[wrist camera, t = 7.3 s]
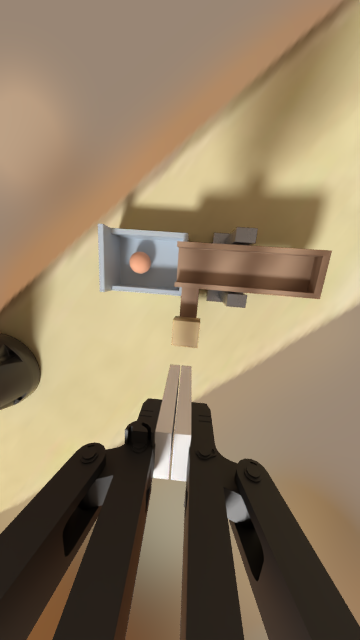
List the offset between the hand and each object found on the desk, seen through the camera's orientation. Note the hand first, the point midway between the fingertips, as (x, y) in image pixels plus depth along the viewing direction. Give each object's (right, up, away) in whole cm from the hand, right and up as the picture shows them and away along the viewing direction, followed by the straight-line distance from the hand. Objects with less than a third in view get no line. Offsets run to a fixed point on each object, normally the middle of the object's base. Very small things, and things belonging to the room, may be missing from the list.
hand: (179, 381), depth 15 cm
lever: (+8, +8, +12) cm, 17 cm away
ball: (-6, +14, +18) cm, 24 cm away
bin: (-5, +14, +18) cm, 24 cm away
